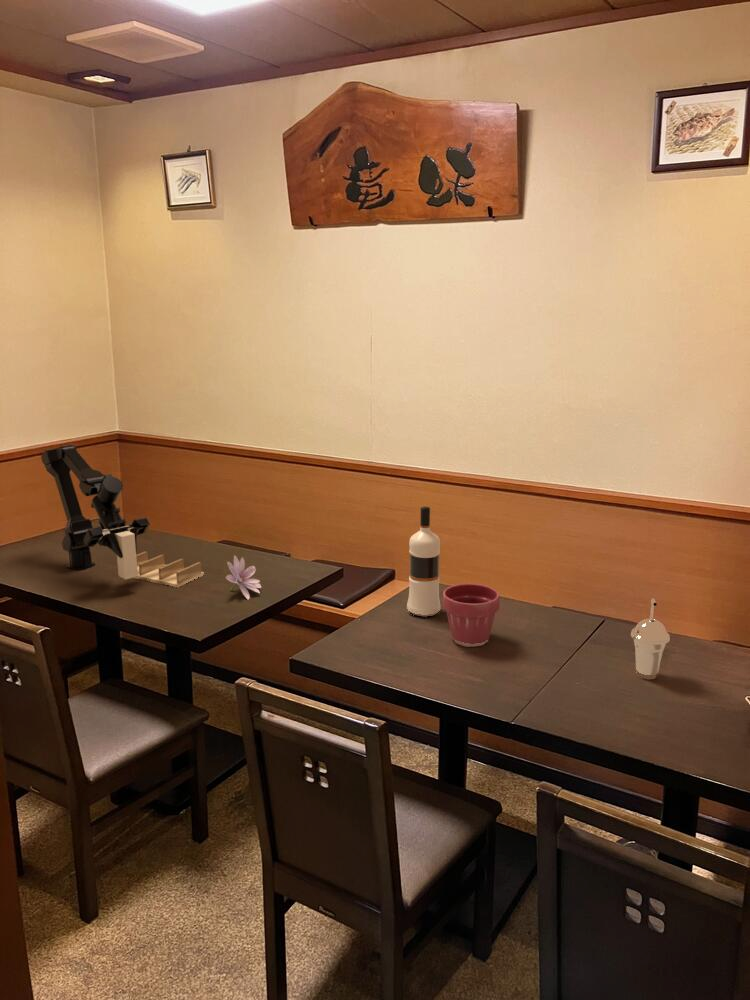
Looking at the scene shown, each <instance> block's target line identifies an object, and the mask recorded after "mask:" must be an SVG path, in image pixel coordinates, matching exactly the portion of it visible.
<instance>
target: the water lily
mask: <svg viewBox="0 0 750 1000" xmlns="http://www.w3.org/2000/svg"><path fill="white" fill-rule="evenodd" d="M226 564H227V567H228V568H229V571H230V572H231V574H227V575H226V576H225V579H226V580H228V581H229V582H230V583H232V584H233V585H232V586H231V587H230V588H229V591H230V592H232V591H233V590H234V589H235V587H236V586H237V585H238V586H239V590H240V591H241V593H242V595H243V596H244V598H246V599H247V600H249V599H250V598H251V597H250V593H249V590H251V591H252V592H255V593H258V594H261V592H260V590H259V589H261V588H262V585H261V583H260V582H261V581H260V579H257V578H251V577H252V576H253V575H254V574H255V573H256V570H257V568H256V566H254V565H250V566H248V567H247V568H246V563H245V558H244V557H243V556H242V557H241V558H240V560H239V559H238V557H237V556H236V555H233V564H232V563H231V562H230V561H227V563H226ZM245 568H246V569H245Z"/></svg>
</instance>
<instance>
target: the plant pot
mask: <svg viewBox="0 0 750 1000" xmlns="http://www.w3.org/2000/svg"><path fill="white" fill-rule="evenodd" d="M500 602H501V601H500V593H499V592H498V590H496V589H495V588H493V587H491V586H489V585H485V584H480V583H479V584H478V583H459V584H454V585H451V586H448V587H447V588H445V589H444V590H443V593H442V606H443V607H442V608H443V610H444V611H445V612H446V616H447V621H448V626H449V631H450V635H452V636H451V638H452V637H453V638H454V639H455V640H457V641H460V642H464V643H470V644H475V643H482V642H485V641H486V640H488V639H490V636H491V631H492V627H493V624H494V619H495V615H496V614H497V613H498V611H500ZM488 641H489V640H488Z"/></svg>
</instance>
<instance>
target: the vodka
mask: <svg viewBox="0 0 750 1000" xmlns="http://www.w3.org/2000/svg"><path fill="white" fill-rule="evenodd" d="M419 518H420V521H419V524H420V525H419V526H420V528H419V530H418V531H417V532H415V533H414V534H412V535H411V536H410V537H409V541H408V543H409V546H408V547H409V549H408V551H409V576H408V580H409V581H408V582H409V589H408V599H407V603H406V609H408V610H407V612H408V611H410V612H412V613H415V614H421V615H429V614H434V613H437V612H439V611H440V612H441V610H440V609H441V607H442V606H441V604H442V603H441V602H440V588H439V587H440V580H441V579H440V578H441V577H440V553H441V550H440V549H441V539H440V537H439V536H438V535H437V534H435V533H434V532H432V530H431V529H430V528H431V507H430V506H421V507H420V517H419ZM440 612H439V613H440Z"/></svg>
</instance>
